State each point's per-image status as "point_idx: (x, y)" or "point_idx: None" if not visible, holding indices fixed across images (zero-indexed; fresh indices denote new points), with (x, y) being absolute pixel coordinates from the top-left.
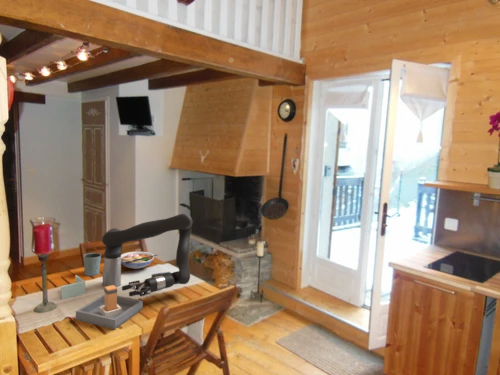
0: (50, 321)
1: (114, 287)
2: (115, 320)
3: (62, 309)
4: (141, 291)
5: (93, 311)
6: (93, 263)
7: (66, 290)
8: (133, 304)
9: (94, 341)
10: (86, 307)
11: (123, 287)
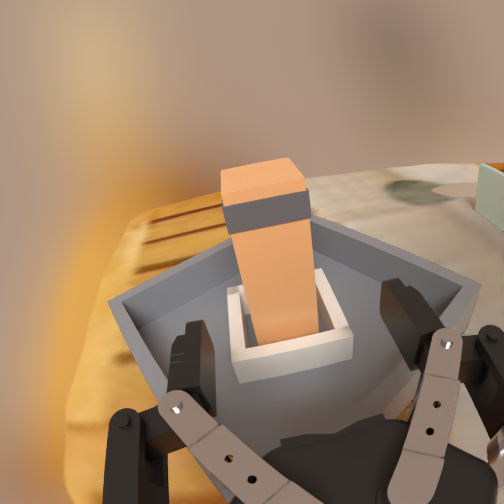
0: (318, 203)
1: (243, 184)
2: (108, 304)
3: (398, 214)
4: (115, 424)
5: (332, 273)
6: None
7: (488, 187)
8: None
9: (115, 280)
10: (322, 230)
11: (385, 292)
